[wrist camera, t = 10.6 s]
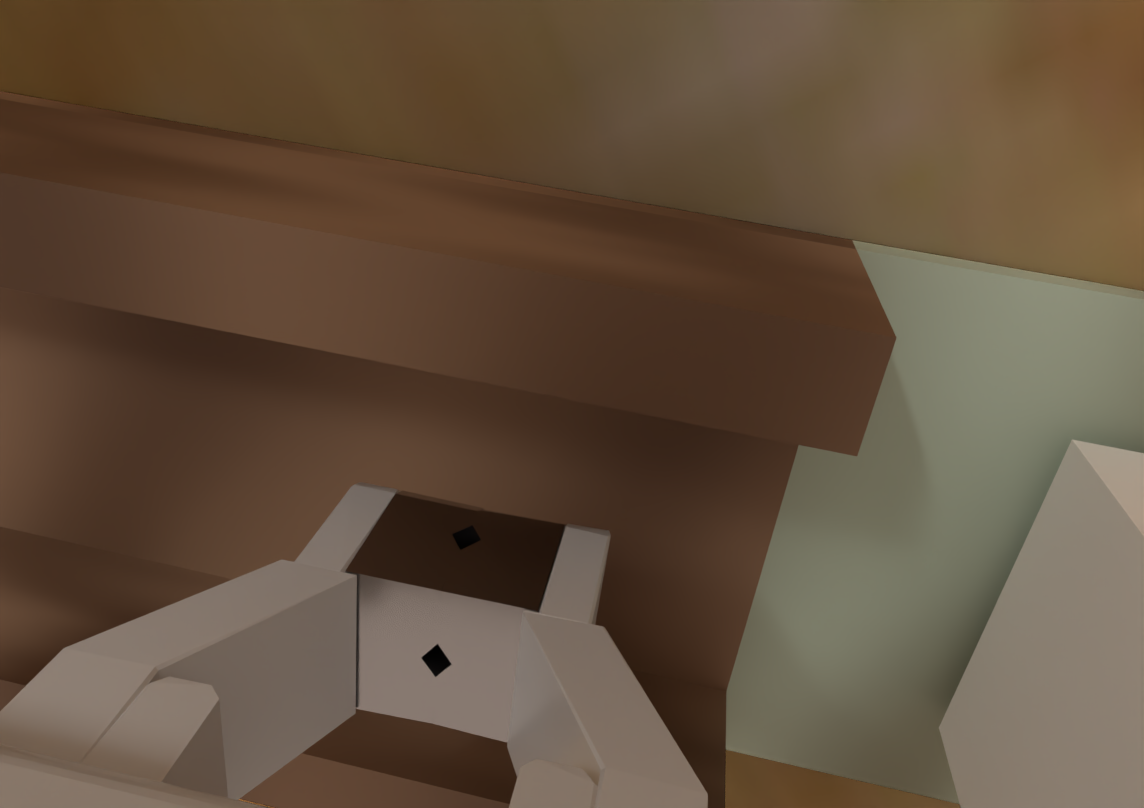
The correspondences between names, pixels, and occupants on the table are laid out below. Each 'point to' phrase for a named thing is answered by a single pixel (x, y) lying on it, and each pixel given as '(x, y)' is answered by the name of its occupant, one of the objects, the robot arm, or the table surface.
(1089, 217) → the table surface
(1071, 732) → the block
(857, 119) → the table surface
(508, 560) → the robot arm
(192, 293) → the chute
